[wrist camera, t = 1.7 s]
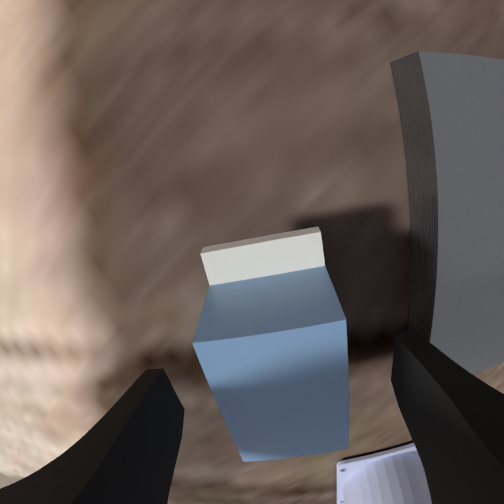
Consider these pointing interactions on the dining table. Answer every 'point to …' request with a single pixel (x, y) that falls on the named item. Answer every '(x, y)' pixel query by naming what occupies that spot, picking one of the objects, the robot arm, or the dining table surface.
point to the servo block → (275, 346)
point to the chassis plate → (455, 201)
